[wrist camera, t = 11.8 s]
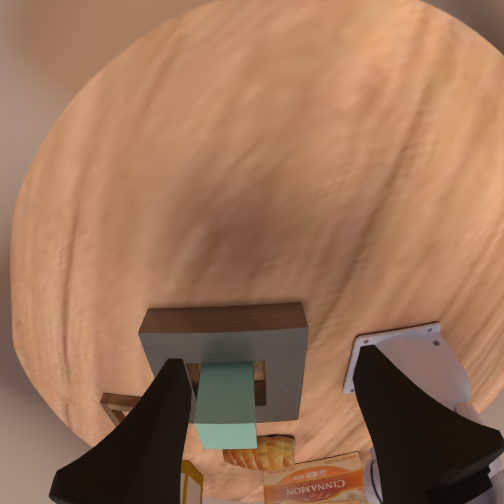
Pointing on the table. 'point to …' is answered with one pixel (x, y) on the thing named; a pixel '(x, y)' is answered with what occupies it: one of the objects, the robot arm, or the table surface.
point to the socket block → (235, 349)
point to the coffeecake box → (317, 482)
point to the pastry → (264, 454)
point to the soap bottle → (190, 484)
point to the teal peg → (226, 406)
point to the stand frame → (117, 406)
